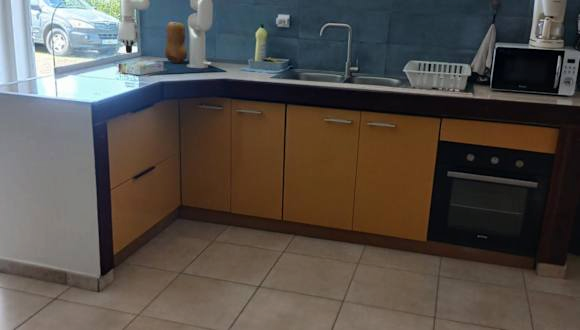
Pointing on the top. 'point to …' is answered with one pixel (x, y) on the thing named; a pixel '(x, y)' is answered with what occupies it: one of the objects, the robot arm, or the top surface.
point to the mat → (146, 74)
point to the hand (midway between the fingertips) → (129, 52)
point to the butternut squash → (175, 42)
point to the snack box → (141, 67)
